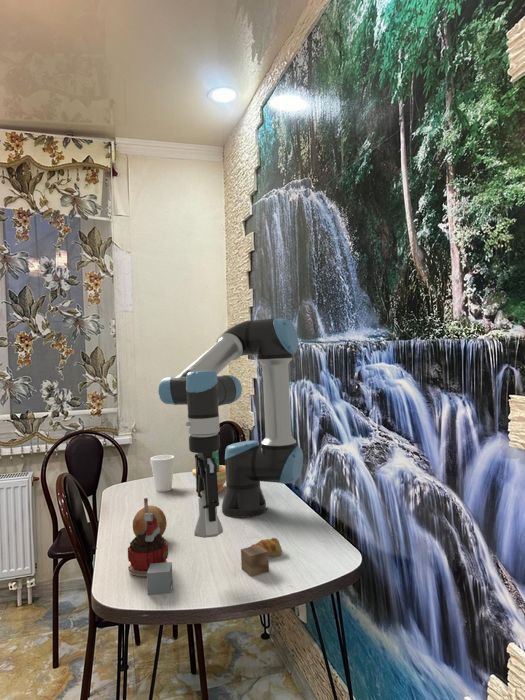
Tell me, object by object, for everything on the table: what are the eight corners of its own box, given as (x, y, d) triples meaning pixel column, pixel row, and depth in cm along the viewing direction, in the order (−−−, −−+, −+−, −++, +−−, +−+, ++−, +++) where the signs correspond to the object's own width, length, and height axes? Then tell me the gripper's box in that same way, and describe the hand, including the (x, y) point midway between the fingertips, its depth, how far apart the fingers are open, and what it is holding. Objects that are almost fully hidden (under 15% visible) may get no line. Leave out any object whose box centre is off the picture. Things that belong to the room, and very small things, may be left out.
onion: (155, 549, 133) (154, 513, 133) (125, 545, 137) (124, 510, 137) (173, 536, 142) (172, 502, 142) (145, 533, 146) (144, 500, 146)
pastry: (251, 563, 122) (250, 548, 122) (241, 554, 128) (241, 540, 128) (284, 556, 126) (283, 541, 126) (273, 547, 132) (272, 533, 132)
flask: (218, 539, 112) (216, 496, 112) (189, 538, 113) (187, 496, 113) (227, 527, 119) (225, 487, 119) (199, 527, 120) (197, 487, 120)
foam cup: (172, 492, 189) (171, 459, 189) (149, 493, 189) (148, 460, 190) (177, 485, 199) (176, 454, 199) (155, 486, 199) (153, 455, 199)
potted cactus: (198, 484, 200) (196, 424, 200) (234, 483, 198) (232, 423, 198) (187, 494, 185) (185, 430, 185) (226, 494, 183) (224, 429, 183)
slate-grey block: (172, 583, 113) (171, 562, 113) (170, 593, 108) (169, 571, 108) (151, 585, 112) (150, 563, 112) (147, 595, 107) (146, 573, 107)
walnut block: (259, 564, 121) (258, 544, 121) (269, 571, 116) (268, 551, 117) (241, 569, 118) (240, 549, 118) (250, 577, 114) (250, 556, 114)
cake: (138, 560, 126) (135, 492, 126) (172, 561, 125) (170, 492, 125) (122, 580, 115) (119, 505, 115) (159, 580, 114) (156, 504, 114)
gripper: (181, 429, 124) (185, 518, 124) (197, 442, 106) (201, 546, 106) (210, 427, 127) (214, 513, 127) (229, 439, 108) (234, 540, 108)
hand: (208, 528), depth 116 cm, fingers closed on flask, 7 cm apart
